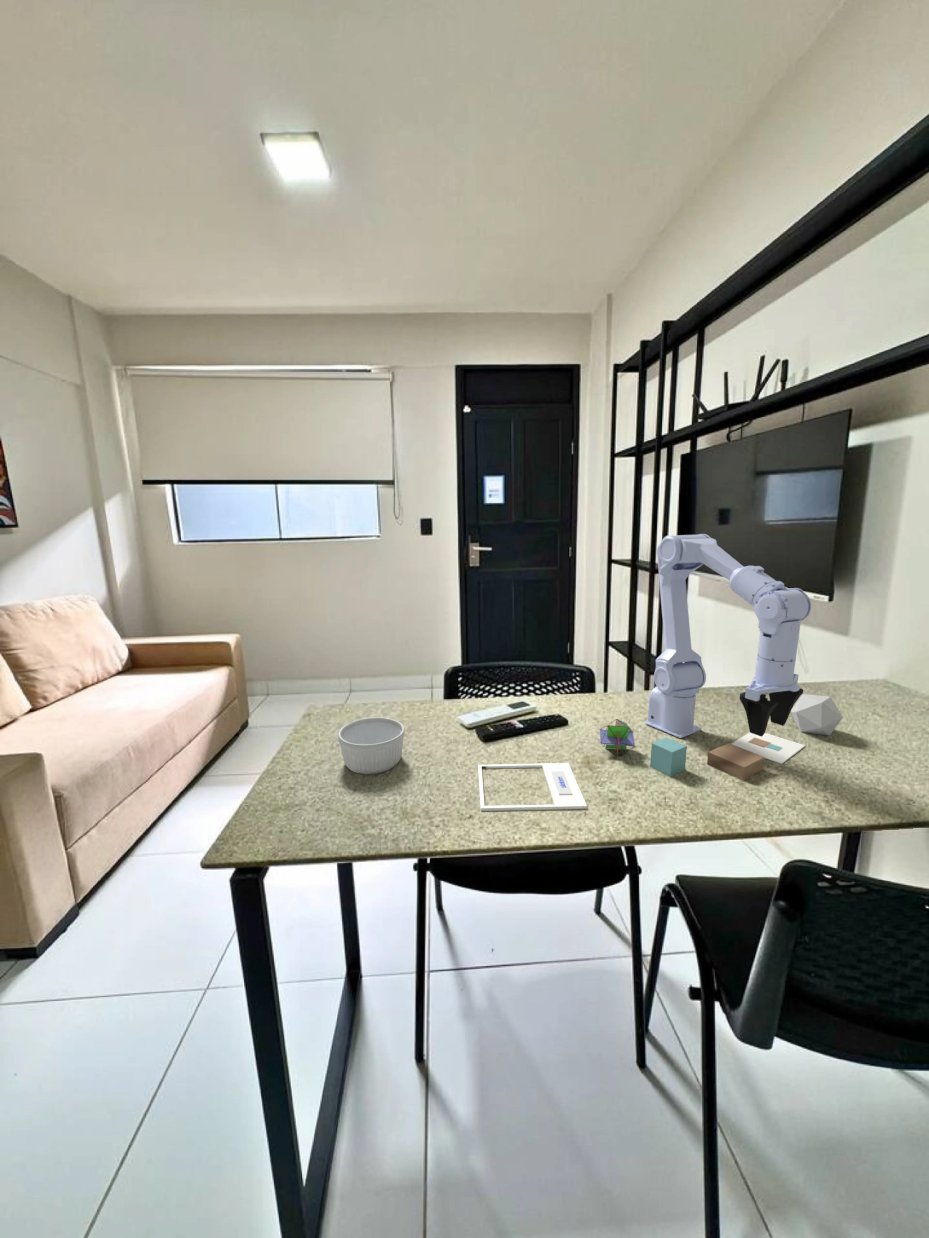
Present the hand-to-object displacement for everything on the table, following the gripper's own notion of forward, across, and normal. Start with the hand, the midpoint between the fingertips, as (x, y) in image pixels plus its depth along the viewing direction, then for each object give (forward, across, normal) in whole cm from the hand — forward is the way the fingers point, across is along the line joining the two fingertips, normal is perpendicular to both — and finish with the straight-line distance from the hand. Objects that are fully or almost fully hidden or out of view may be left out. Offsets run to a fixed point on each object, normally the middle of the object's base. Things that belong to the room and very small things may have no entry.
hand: (767, 728), depth 88 cm
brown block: (+10, 0, +5) cm, 11 cm away
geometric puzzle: (+10, -14, +22) cm, 28 cm away
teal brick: (+10, -11, +12) cm, 19 cm away
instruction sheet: (+10, +14, +6) cm, 18 cm away
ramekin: (+10, -58, +48) cm, 75 cm away
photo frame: (+10, -38, +22) cm, 45 cm away
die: (+10, +30, +3) cm, 32 cm away
